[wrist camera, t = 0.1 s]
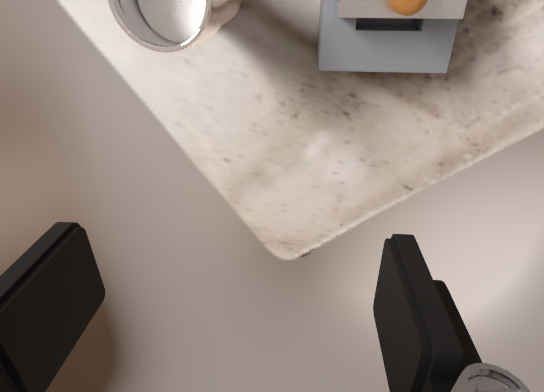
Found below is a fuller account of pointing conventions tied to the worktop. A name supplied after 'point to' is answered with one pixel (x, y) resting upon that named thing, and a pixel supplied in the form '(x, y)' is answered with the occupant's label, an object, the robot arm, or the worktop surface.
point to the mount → (383, 43)
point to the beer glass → (172, 21)
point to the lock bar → (401, 9)
